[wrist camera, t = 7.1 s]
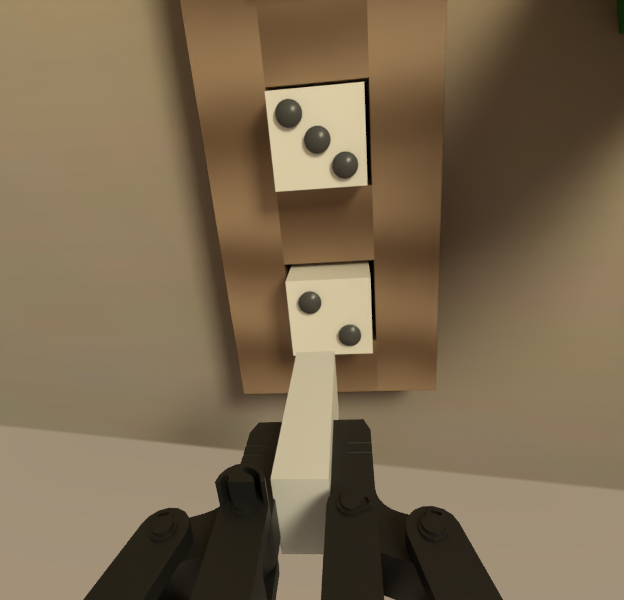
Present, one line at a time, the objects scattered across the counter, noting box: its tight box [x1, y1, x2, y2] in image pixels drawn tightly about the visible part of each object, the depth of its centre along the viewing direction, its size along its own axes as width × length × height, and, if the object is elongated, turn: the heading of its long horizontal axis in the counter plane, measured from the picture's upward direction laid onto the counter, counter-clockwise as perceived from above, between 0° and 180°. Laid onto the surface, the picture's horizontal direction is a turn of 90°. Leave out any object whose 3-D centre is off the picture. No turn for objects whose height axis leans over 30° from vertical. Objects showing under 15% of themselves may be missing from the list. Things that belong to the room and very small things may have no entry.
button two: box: [285, 260, 373, 356], centre depth 25 cm, size 4×4×4 cm
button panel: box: [180, 0, 447, 394], centre depth 23 cm, size 30×12×3 cm, turn 5°
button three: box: [265, 82, 368, 192], centre depth 22 cm, size 4×4×4 cm
